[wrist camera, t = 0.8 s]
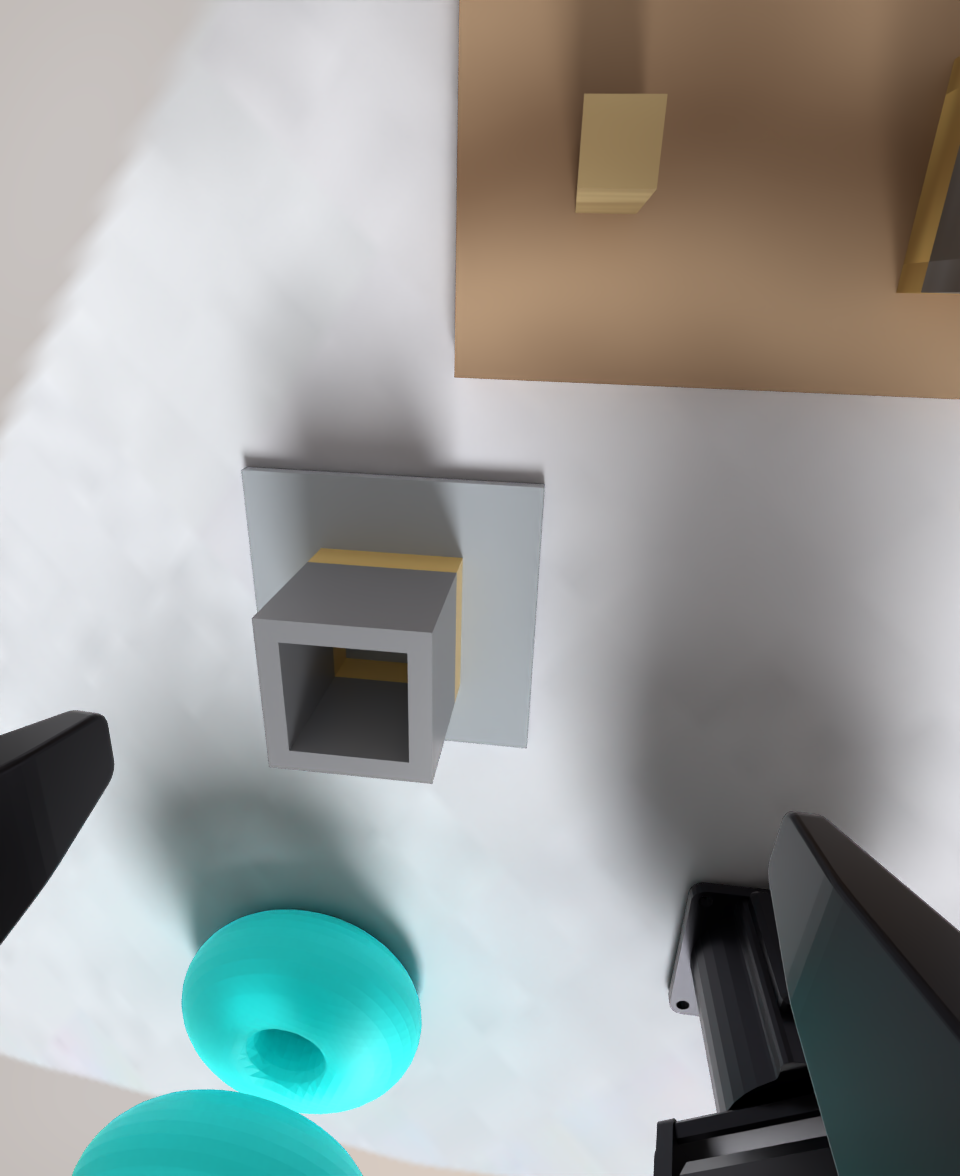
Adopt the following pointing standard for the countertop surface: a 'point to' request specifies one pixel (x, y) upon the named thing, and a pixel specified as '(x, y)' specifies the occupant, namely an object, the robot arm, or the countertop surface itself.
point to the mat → (422, 527)
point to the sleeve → (361, 664)
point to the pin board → (710, 194)
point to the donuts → (273, 1052)
